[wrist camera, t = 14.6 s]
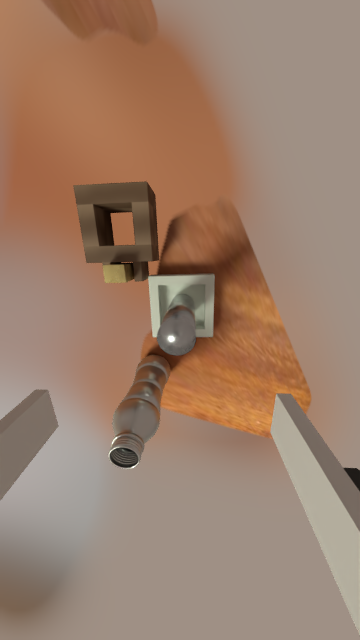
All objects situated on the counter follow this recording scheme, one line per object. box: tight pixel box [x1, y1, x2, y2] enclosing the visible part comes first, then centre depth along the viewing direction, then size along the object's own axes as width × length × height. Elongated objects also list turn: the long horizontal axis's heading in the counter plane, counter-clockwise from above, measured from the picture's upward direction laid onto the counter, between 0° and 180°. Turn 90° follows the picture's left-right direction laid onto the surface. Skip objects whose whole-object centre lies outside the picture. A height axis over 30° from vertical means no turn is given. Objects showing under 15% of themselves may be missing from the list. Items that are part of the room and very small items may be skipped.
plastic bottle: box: [109, 355, 170, 469], centre depth 32 cm, size 6×7×20 cm
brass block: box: [103, 263, 135, 283], centre depth 31 cm, size 2×3×8 cm
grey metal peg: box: [157, 294, 196, 355], centre depth 29 cm, size 4×4×15 cm
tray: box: [148, 274, 215, 337], centre depth 35 cm, size 11×11×3 cm
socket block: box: [74, 182, 159, 281], centre depth 31 cm, size 13×10×6 cm
